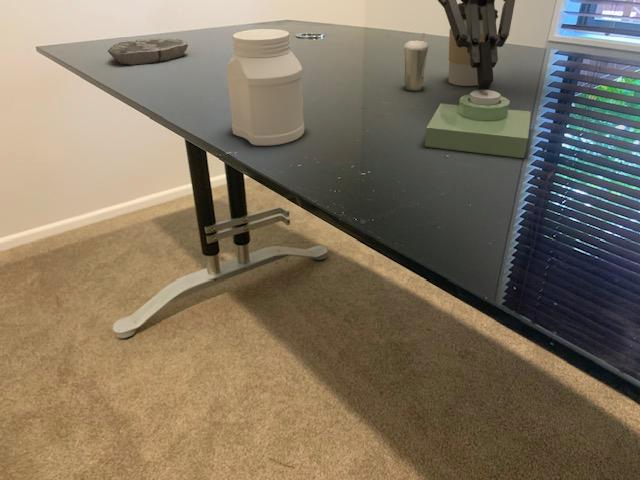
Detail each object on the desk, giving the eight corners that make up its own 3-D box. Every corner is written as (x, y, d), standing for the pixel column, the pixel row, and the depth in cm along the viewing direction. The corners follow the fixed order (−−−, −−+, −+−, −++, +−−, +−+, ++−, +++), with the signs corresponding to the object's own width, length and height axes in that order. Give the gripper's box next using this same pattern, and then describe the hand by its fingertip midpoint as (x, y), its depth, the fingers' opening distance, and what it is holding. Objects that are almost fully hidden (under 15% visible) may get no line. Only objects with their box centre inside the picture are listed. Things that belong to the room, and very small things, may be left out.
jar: (313, 135, 80) (311, 35, 72) (262, 150, 75) (253, 44, 67) (274, 117, 88) (267, 25, 80) (225, 130, 83) (213, 32, 75)
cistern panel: (527, 128, 81) (533, 97, 78) (524, 158, 71) (531, 124, 68) (439, 119, 85) (442, 90, 82) (424, 146, 75) (427, 113, 72)
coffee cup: (434, 81, 105) (442, 2, 97) (459, 73, 110) (469, -3, 102) (471, 90, 99) (482, 6, 91) (496, 81, 104) (509, 1, 96)
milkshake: (430, 86, 102) (435, 34, 96) (418, 93, 98) (423, 38, 93) (409, 83, 104) (413, 31, 99) (397, 89, 100) (401, 36, 95)
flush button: (499, 104, 79) (501, 91, 78) (497, 112, 75) (499, 99, 74) (470, 101, 80) (472, 88, 79) (466, 110, 77) (468, 96, 76)
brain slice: (169, 46, 140) (167, 35, 139) (197, 56, 129) (195, 44, 127) (98, 57, 130) (95, 45, 129) (121, 69, 119) (118, 56, 117)
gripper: (508, -31, 85) (520, 96, 80) (430, -30, 85) (437, 97, 80) (524, -67, 78) (539, 71, 73) (439, -66, 78) (448, 72, 73)
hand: (485, 85), depth 76 cm, fingers closed
